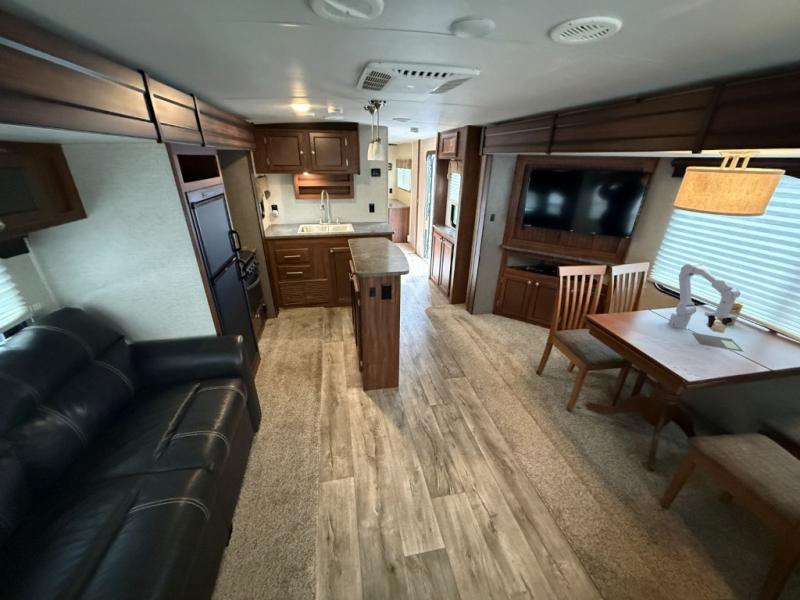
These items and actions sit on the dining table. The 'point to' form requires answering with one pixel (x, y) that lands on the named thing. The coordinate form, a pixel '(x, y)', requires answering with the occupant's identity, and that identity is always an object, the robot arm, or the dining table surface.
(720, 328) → the maple block
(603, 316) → the dining table surface
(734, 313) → the candy box
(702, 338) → the rubber mat
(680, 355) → the dining table surface
